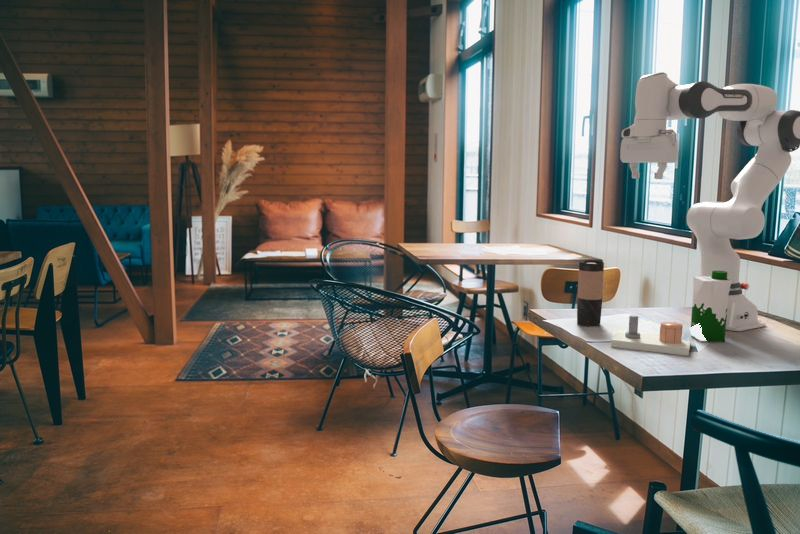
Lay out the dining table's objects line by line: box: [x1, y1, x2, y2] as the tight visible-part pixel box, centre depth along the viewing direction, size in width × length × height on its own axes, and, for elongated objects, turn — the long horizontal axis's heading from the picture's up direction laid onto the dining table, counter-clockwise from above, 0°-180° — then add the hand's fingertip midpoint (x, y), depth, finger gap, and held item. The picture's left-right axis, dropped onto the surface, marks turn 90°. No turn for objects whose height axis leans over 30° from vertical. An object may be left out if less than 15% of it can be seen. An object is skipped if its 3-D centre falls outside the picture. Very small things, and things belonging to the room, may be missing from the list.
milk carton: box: [690, 271, 731, 343], centre depth 197 cm, size 9×9×20 cm
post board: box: [610, 314, 691, 356], centre depth 190 cm, size 20×12×8 cm, turn 65°
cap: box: [659, 321, 683, 344], centre depth 188 cm, size 6×6×5 cm
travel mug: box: [576, 260, 605, 327], centre depth 215 cm, size 8×8×20 cm
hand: (646, 178), depth 198 cm, fingers open, 8 cm apart
